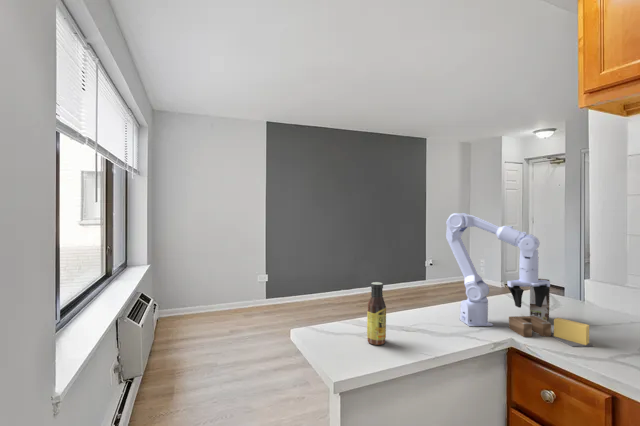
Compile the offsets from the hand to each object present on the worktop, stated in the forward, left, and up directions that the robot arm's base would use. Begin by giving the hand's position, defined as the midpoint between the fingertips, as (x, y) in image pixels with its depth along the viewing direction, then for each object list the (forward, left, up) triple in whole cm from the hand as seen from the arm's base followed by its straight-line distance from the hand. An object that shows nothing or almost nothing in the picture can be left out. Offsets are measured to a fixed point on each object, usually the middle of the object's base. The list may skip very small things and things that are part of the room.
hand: (528, 306), depth 115 cm
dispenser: (+2, +1, -10) cm, 10 cm away
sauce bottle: (-56, -4, -10) cm, 57 cm away
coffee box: (+15, +14, -10) cm, 23 cm away
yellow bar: (+11, -6, -10) cm, 16 cm away
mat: (+11, -6, -10) cm, 15 cm away
